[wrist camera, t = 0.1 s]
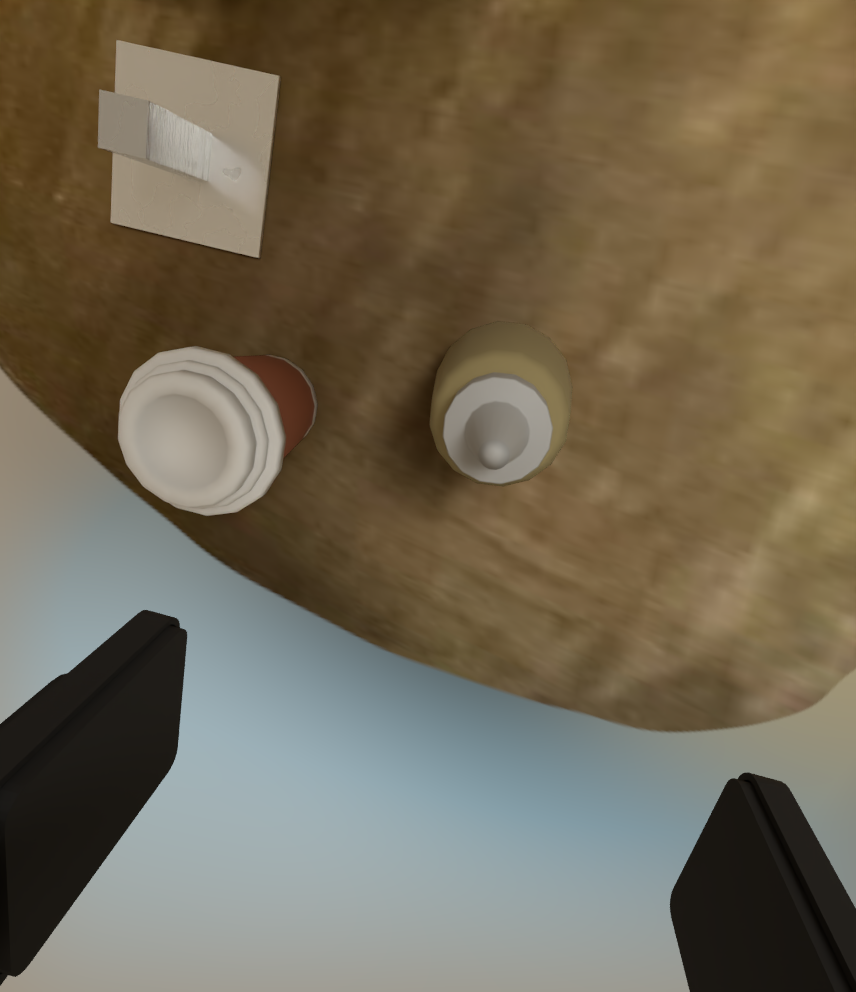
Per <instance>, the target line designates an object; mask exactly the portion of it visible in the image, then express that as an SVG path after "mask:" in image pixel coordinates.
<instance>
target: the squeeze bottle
mask: <svg viewBox="0 0 856 992" xmlns="http://www.w3.org/2000/svg"><path fill="white" fill-rule="evenodd" d="M571 399H572V383H571V378H570V374H569V370H568V366H567V361H566V359H565V358H564V356H563V355H562V354H561V352H560V351H559V350H558V348H557V347H556V346H555V344H554V343H553V342H552V340H551V339H550V338H549V337H547V336H546V335H544V334H542V333H540V332H539V331H537V330H535V329H533V328H531V327H530V326H528V325H526V324H520V323H510V322H501V321H496V322H493V323H490V324H487V325H484V326H480V327H477V328H474V329H471V330H470V331H468V332H467V333H466V334H465V335H464V336H462V337H461V338H460V339H459V340H458V341H456V342H455V343H454V344H453V345H452V346H450V347H449V349H448V351H447V353H446V355H445V357H444V359H443V361H442V363H441V365H440V366H439V368H438V370H437V374H436V379H435V384H434V390H433V395H432V403H431V414H430V428H431V432H432V435H433V438H434V441H435V444H436V448H437V450H438V452H439V453H440V454H441V455H442V457H443V458H444V459H445V460H446V461H447V463H448V464H449V465H450V466H451V467H452V469H453V470H454V471H456V472H458V473H460V474H461V475H463V476H465V477H467V478H469V479H470V480H472V481H474V482H476V483H481V484H488V485H496V486H507V485H511V484H515V483H519V482H523V481H527V480H530V479H531V478H533V477H534V476H535V475H537V474H538V473H540V472H541V471H542V470H544V469H545V468H547V467H548V466H549V465H551V464H552V462H553V460H554V459H555V457H556V456H557V454H558V453H559V451H560V450H561V448H562V446H563V445H564V443H565V442H566V437H567V431H568V425H569V419H570V412H571Z"/></svg>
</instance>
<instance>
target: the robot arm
mask: <svg viewBox="0 0 856 992" xmlns="http://www.w3.org/2000/svg"><path fill="white" fill-rule="evenodd" d="M186 644H187V632H186V630H184V629H181V628H180V624H179V621H178V619H177V618H174V617H170V616H166V615H163V614H160V613H156V612H152V611H148V610H143V611H141V612H140V613H138V614H137V615H136V616H135V617H133V618H132V619H131V620H130V621H129V622H127V623H126V624H125V625H124V626H123V627H122V628H121V629H119V630H118V631H117V632H116V633H115V634H113V635H112V636H111V637H110V638H109V639H108V640H106V641H105V642H104V643H103V644H102V645H101V646H99V647H98V648H97V649H96V650H95V651H93V652H92V653H91V654H90V655H89V656H88V657H86V658H85V659H84V660H83V661H82V662H81V663H79V664H78V665H77V666H76V667H75V668H74V669H72V670H71V671H70V672H69V673H67V674H63V675H60V676H59V677H57V678H56V679H54V680H53V681H51V682H50V683H49V684H48V685H46V686H45V687H44V688H43V689H42V690H41V691H39V692H38V693H37V694H36V695H34V696H33V697H32V698H31V699H30V700H28V701H27V702H26V703H25V704H24V705H23V706H21V707H20V708H19V709H18V710H17V711H16V712H14V713H13V714H12V715H11V716H10V717H8V718H7V719H6V720H5V721H3V722H2V723H1V724H0V985H1V984H2V983H3V981H4V980H5V979H6V977H7V975H11V976H15V977H16V976H18V975H19V974H21V973H22V972H23V971H24V970H25V969H26V968H27V966H28V965H29V964H30V962H31V961H32V960H33V959H34V957H35V956H36V954H37V953H38V952H39V950H40V949H41V947H42V946H43V944H44V943H45V942H46V941H47V939H48V938H49V936H50V935H51V934H52V932H53V931H54V929H55V928H56V927H57V925H58V924H59V923H60V921H61V920H62V918H63V917H64V916H65V914H66V913H67V911H68V910H69V909H70V907H71V906H72V905H73V903H74V902H75V900H76V899H77V898H78V896H79V895H80V894H81V892H82V891H83V889H84V888H85V887H86V885H87V884H88V882H89V881H90V880H91V878H92V876H94V874H95V873H96V871H97V870H98V869H99V867H100V866H101V864H102V863H103V862H104V860H105V859H106V857H107V856H108V855H109V853H110V852H111V851H112V849H113V848H114V846H115V845H116V844H117V842H118V841H119V840H120V838H121V837H122V835H123V834H124V833H125V831H126V830H127V829H128V827H129V826H130V824H131V823H132V822H133V820H134V819H135V817H136V816H137V815H138V813H139V812H140V811H141V809H142V808H143V806H144V805H145V803H146V802H147V801H148V799H149V798H150V797H151V795H152V794H153V793H154V791H155V790H156V788H157V787H158V785H159V784H160V783H161V781H162V780H163V779H164V777H165V776H166V775H167V773H168V772H169V770H170V768H171V766H172V764H173V762H174V760H175V757H176V754H177V748H178V737H179V724H180V714H181V701H182V691H183V679H184V678H183V677H184V667H185V656H186ZM670 912H671V918H672V922H673V926H674V930H675V934H676V938H677V942H678V946H679V949H680V954H681V958H682V962H683V966H684V970H685V974H686V978H687V982H688V986H689V990H690V992H856V908H855V907H854V905H853V903H852V901H851V899H850V897H849V896H848V894H847V892H846V890H845V889H844V887H843V885H842V883H841V881H840V880H839V878H838V876H837V874H836V872H835V870H834V868H833V867H832V865H831V863H830V861H829V859H828V858H827V856H826V854H825V852H824V851H823V849H822V847H821V845H820V844H819V841H818V840H817V838H816V836H815V834H814V832H813V831H812V829H811V827H810V825H809V823H808V822H807V820H806V818H805V816H804V814H803V813H802V811H801V809H800V807H799V805H798V803H797V802H796V800H795V798H794V796H793V794H792V792H791V791H790V789H789V788H788V787H787V785H786V784H784V783H783V782H781V781H777V780H774V779H770V778H766V777H763V776H759V775H755V774H751V773H743V774H742V775H740V776H739V778H738V779H730V780H729V781H728V782H727V784H726V785H725V787H724V789H723V792H722V793H721V795H720V797H719V799H718V801H717V803H716V805H715V807H714V809H713V811H712V813H711V815H710V817H709V819H708V821H707V823H706V825H705V827H704V829H703V831H702V833H701V835H700V837H699V839H698V841H697V843H696V845H695V847H694V849H693V851H692V853H691V855H690V857H689V858H688V860H687V862H686V864H685V866H684V868H683V870H682V872H681V874H680V876H679V878H678V880H677V882H676V884H675V886H674V888H673V891H672V894H671V899H670Z"/></svg>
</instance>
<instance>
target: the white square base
mask: <svg viewBox="0 0 856 992" xmlns="http://www.w3.org/2000/svg"><path fill="white" fill-rule="evenodd" d="M280 83H281V77H280V76H278V75H273V74H269V73H264V72H259V71H255V70H250V69H246V68H241V67H237V66H232V65H228V64H223V63H219V62H214V61H210V60H205V59H201V58H196V57H192V56H187V55H183V54H178V53H174V52H169V51H165V50H160V49H156V48H151V47H147V46H142V45H138V44H133V43H129V42H124V41H120V40H117V41H116V72H115V93H113V92H109V91H104V90H100V89H99V123H98V148H101V149H104V150H107V151H109V152H112V153H113V164H112V195H111V223H114V224H118V225H123V226H127V227H131V228H135V229H139V230H144V231H148V232H152V233H156V234H160V235H164V236H169V237H173V238H177V239H181V240H185V241H189V242H194V243H198V244H202V245H206V246H210V247H214V248H219V249H223V250H227V251H231V252H235V253H239V254H244V255H248V256H252V257H256V258H260V257H261V248H262V239H263V231H264V222H265V213H266V205H267V196H268V187H269V178H270V170H271V161H272V152H273V144H274V135H275V126H276V117H277V109H278V100H279V91H280Z"/></svg>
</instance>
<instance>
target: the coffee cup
mask: <svg viewBox="0 0 856 992" xmlns="http://www.w3.org/2000/svg"><path fill="white" fill-rule="evenodd" d="M317 405H318V404H317V399H316V395H315V391H314V386H313V385H312V383H311V382H310V380H309V379H308V377H307V376H306V374H305V373H304V371H303V370H302V369H301V368H299V367H298V366H297V365H295V364H294V363H292V362H291V361H290V360H288V359H286V358H282V357H278V356H274V355H270V354H269V355H260V356H237V357H232V356H231V355H230V354H227V353H223V352H219V351H215V350H211V349H207V348H203V347H199V346H193V347H187V348H181V349H176V350H170V351H165V352H159V353H158V354H156V355H155V356H154V357H152V358H151V359H150V360H148V361H147V362H146V363H144V364H143V365H142V366H140V367H139V368H138V369H136V370H135V371H134V372H133V374H132V377H131V379H130V381H129V383H128V385H127V387H126V389H125V391H124V393H123V395H122V397H121V399H120V412H119V424H118V441H119V444H120V447H121V450H122V453H123V456H124V459H125V462H126V465H127V466H128V467H129V469H130V470H131V471H132V473H133V474H134V475H135V476H136V478H137V479H138V480H139V482H140V483H141V484H142V486H143V487H144V488H146V489H147V490H149V491H150V492H152V493H153V494H155V495H156V496H158V497H159V498H161V499H162V500H163V501H165V502H168V503H170V504H172V505H173V506H174V507H176V508H179V509H183V510H187V511H191V512H194V513H198V514H202V515H206V516H210V515H218V514H226V513H234V512H238V511H240V510H241V509H243V508H244V507H246V506H248V505H249V504H251V503H253V502H254V501H256V500H257V499H259V498H261V497H262V496H263V495H265V494H266V493H267V491H268V489H269V488H270V486H271V485H272V483H273V482H274V480H275V478H276V477H277V475H278V474H279V472H280V471H281V469H282V464H283V458H284V457H285V456H286V455H287V454H288V453H289V452H290V451H291V450H292V449H293V448H294V447H295V446H296V445H297V444H298V443H299V442H300V441H301V440H302V439H303V438H304V437H306V435H307V434H308V432H309V430H310V429H311V427H312V426H313V424H314V423H315V418H316V412H317Z"/></svg>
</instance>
